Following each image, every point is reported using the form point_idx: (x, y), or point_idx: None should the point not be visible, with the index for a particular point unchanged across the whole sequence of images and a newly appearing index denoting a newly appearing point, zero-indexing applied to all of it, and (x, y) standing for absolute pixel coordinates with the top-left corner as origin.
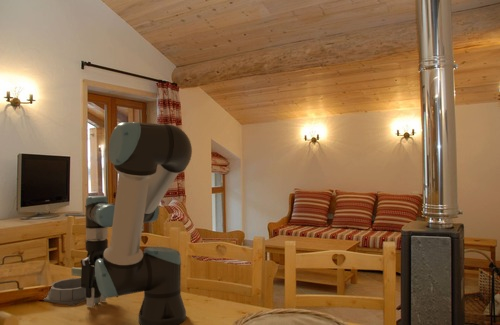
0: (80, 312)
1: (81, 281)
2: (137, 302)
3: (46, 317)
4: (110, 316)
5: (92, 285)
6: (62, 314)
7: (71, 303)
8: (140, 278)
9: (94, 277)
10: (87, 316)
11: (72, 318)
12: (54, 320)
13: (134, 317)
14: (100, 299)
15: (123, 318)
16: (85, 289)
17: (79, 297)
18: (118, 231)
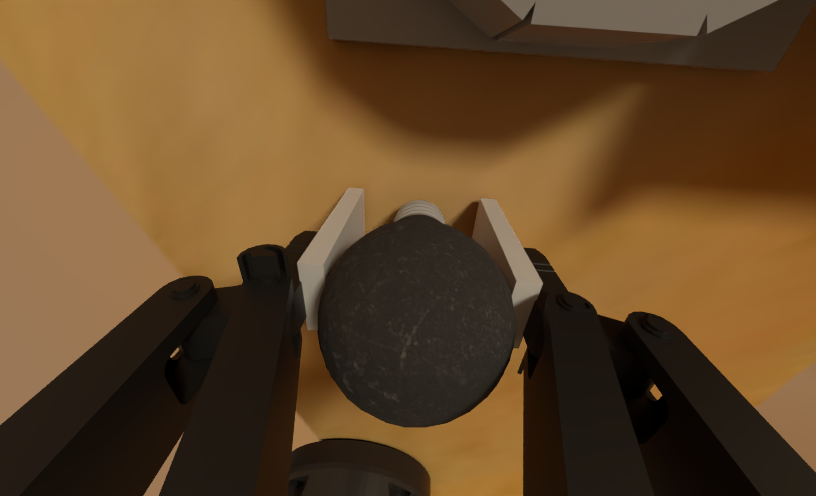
0: (260, 209)
1: (103, 346)
2: (502, 380)
3: (37, 29)
4: (300, 361)
5: (296, 352)
6: (161, 114)
7: (328, 18)
8: None
9: (374, 393)
10: (241, 280)
11: (171, 226)
12: (70, 143)
13: (335, 423)
14: (478, 217)
15: (308, 402)
16: (540, 31)
17: (457, 3)
18: None
